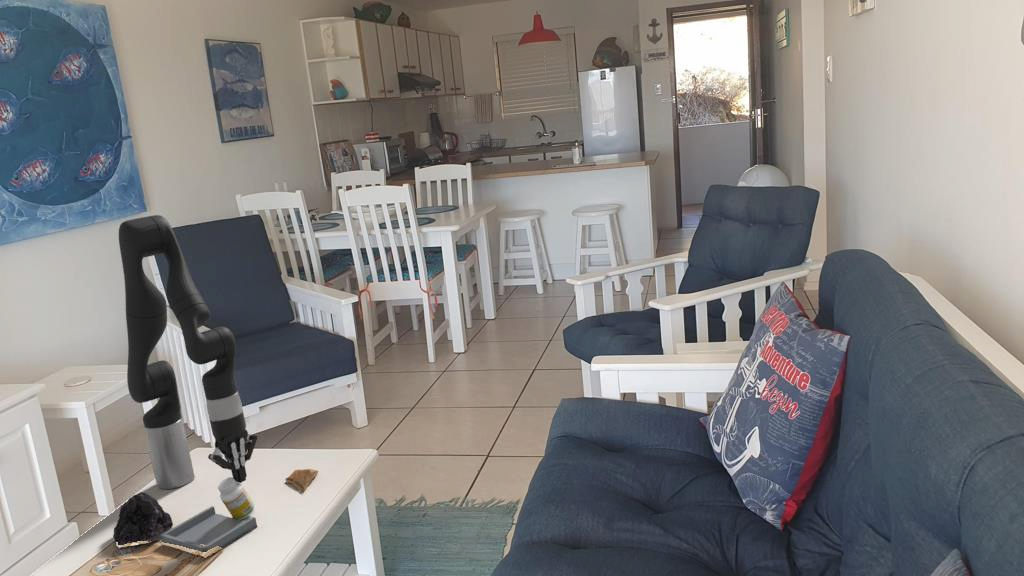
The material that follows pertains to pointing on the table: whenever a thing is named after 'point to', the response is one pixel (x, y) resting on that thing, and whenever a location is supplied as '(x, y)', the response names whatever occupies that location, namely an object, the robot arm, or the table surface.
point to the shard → (302, 478)
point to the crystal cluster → (141, 520)
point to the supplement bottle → (235, 498)
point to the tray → (208, 531)
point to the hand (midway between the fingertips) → (240, 481)
